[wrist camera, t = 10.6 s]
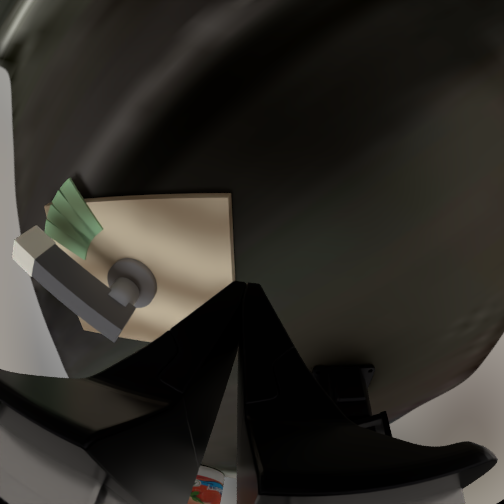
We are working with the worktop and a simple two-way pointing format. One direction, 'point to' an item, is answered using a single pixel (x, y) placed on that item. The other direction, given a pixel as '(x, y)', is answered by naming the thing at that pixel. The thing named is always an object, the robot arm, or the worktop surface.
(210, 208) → the beige flat board
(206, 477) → the fruit juice
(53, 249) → the peg
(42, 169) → the worktop surface
